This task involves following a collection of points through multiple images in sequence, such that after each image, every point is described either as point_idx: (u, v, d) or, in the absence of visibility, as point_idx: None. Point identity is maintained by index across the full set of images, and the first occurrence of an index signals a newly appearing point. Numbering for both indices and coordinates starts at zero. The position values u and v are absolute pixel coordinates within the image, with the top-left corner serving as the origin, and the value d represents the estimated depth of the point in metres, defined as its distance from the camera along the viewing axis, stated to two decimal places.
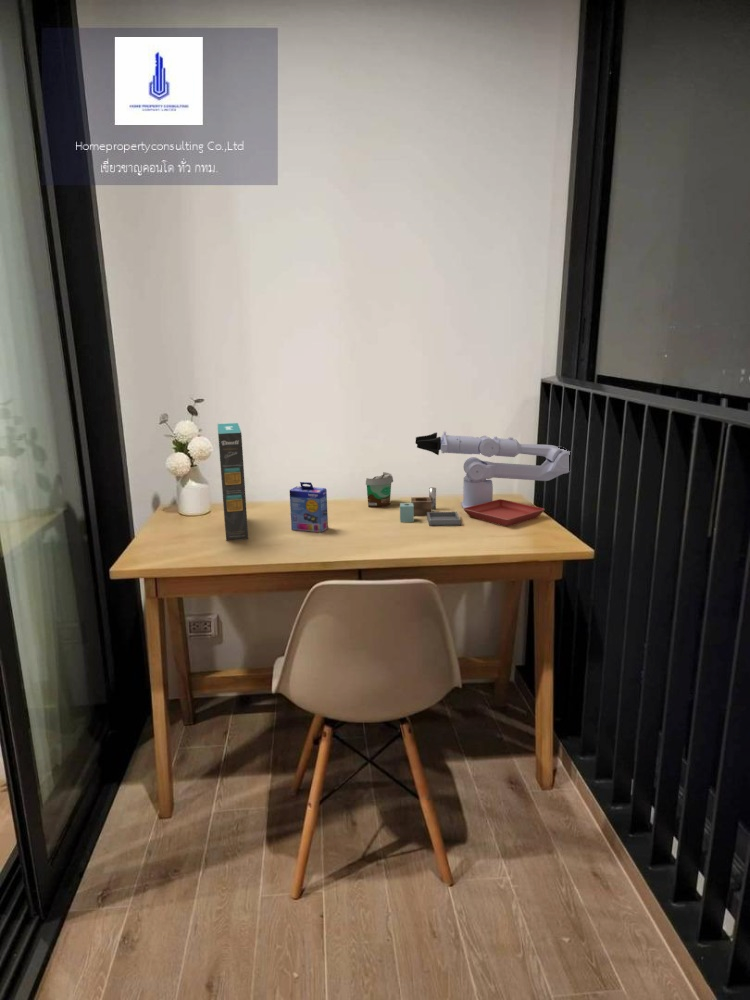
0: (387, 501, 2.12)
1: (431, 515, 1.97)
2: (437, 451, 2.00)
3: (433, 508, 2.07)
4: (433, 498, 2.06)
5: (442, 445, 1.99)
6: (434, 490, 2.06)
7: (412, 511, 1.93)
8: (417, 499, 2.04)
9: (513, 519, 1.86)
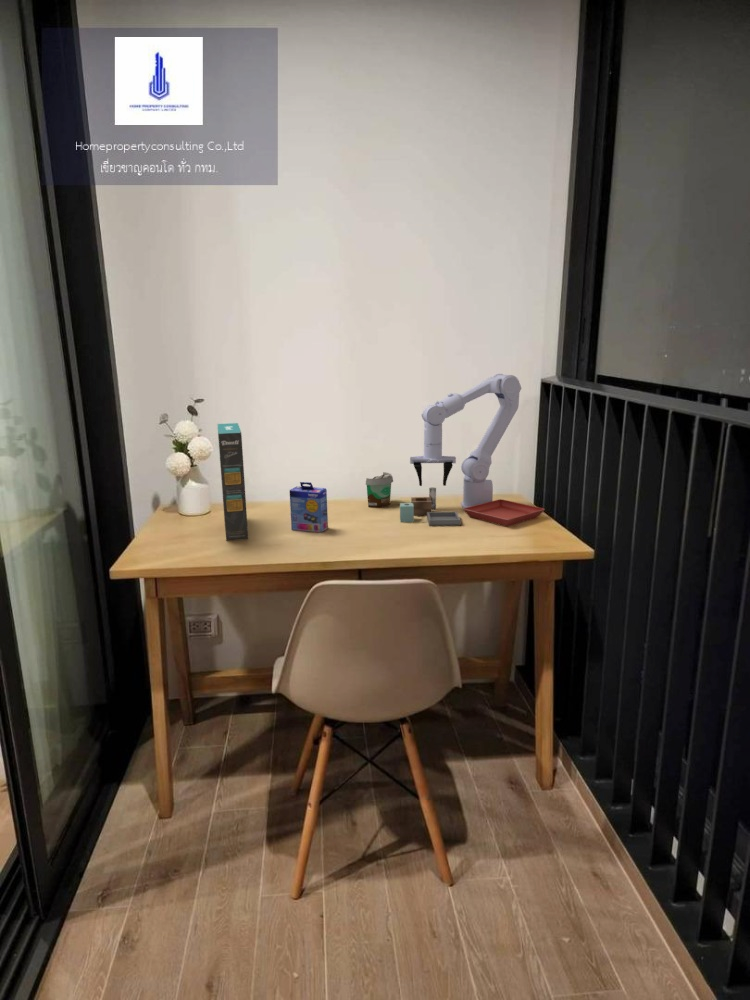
0: (387, 501, 2.12)
1: (431, 515, 1.97)
2: None
3: (433, 508, 2.07)
4: (433, 498, 2.06)
5: (455, 462, 2.04)
6: (434, 490, 2.06)
7: (412, 511, 1.93)
8: (417, 499, 2.04)
9: (513, 519, 1.86)
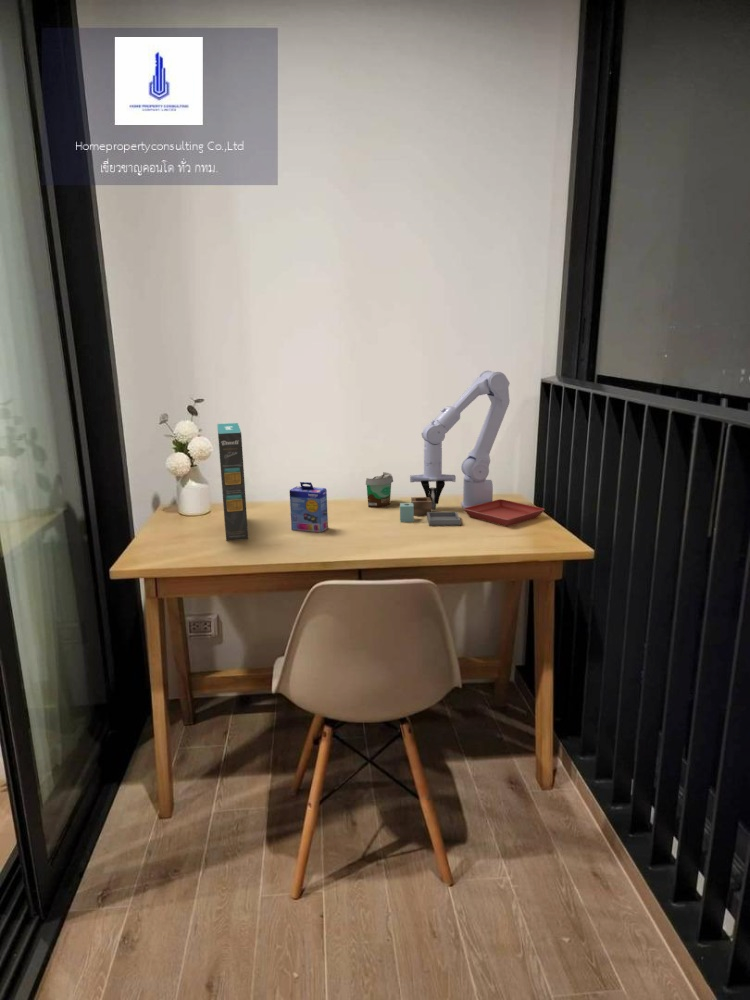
0: (387, 501, 2.12)
1: (431, 515, 1.97)
2: None
3: (433, 508, 2.07)
4: (433, 498, 2.06)
5: None
6: (434, 490, 2.06)
7: (412, 511, 1.93)
8: (417, 499, 2.04)
9: (513, 519, 1.86)
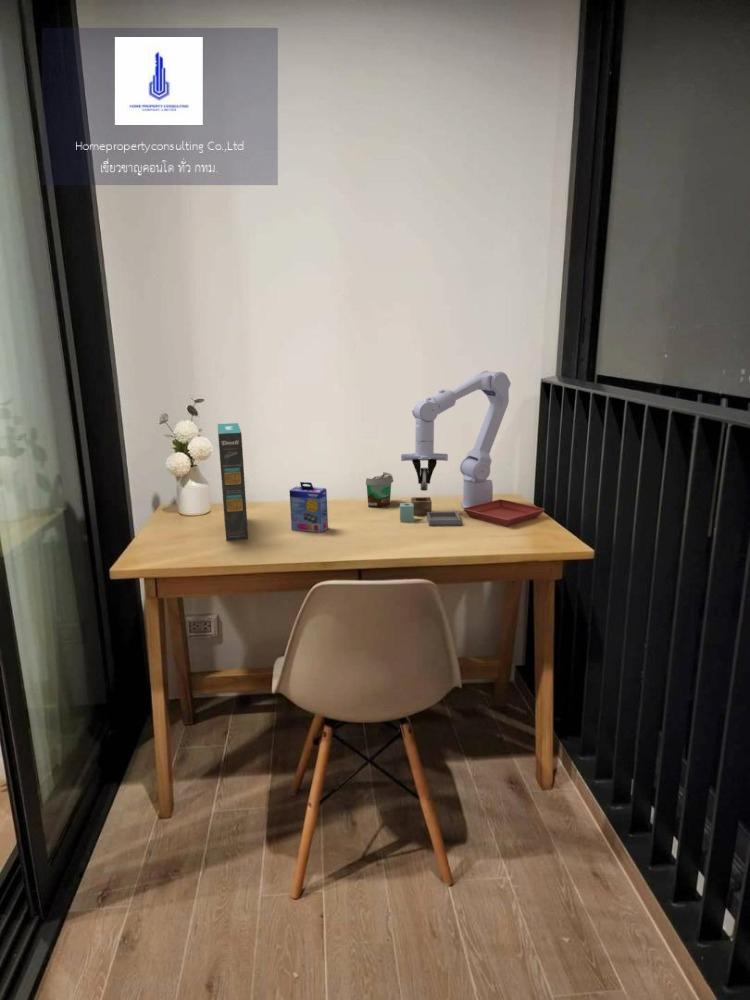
0: (387, 501, 2.12)
1: (431, 515, 1.97)
2: None
3: (424, 489, 2.02)
4: (424, 478, 2.01)
5: (447, 459, 2.00)
6: (425, 470, 2.00)
7: (412, 511, 1.93)
8: (417, 499, 2.04)
9: (513, 519, 1.86)
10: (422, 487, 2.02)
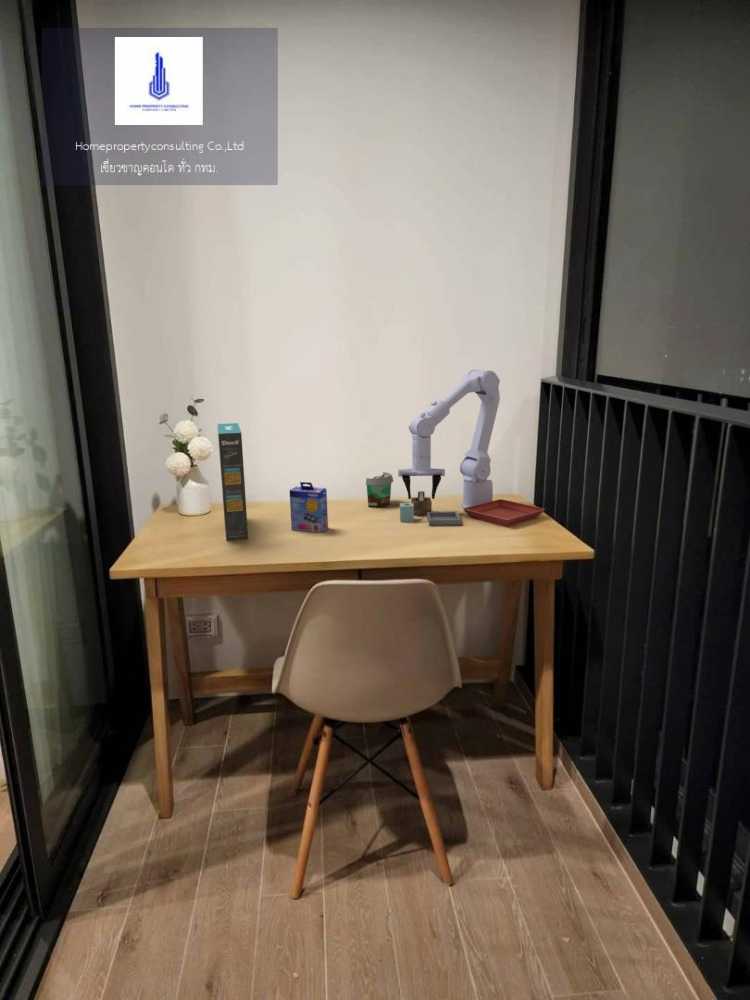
0: (387, 501, 2.12)
1: (431, 515, 1.97)
2: None
3: None
4: None
5: (444, 474, 1.99)
6: (422, 494, 2.01)
7: (412, 511, 1.93)
8: (417, 499, 2.04)
9: (513, 519, 1.86)
10: None
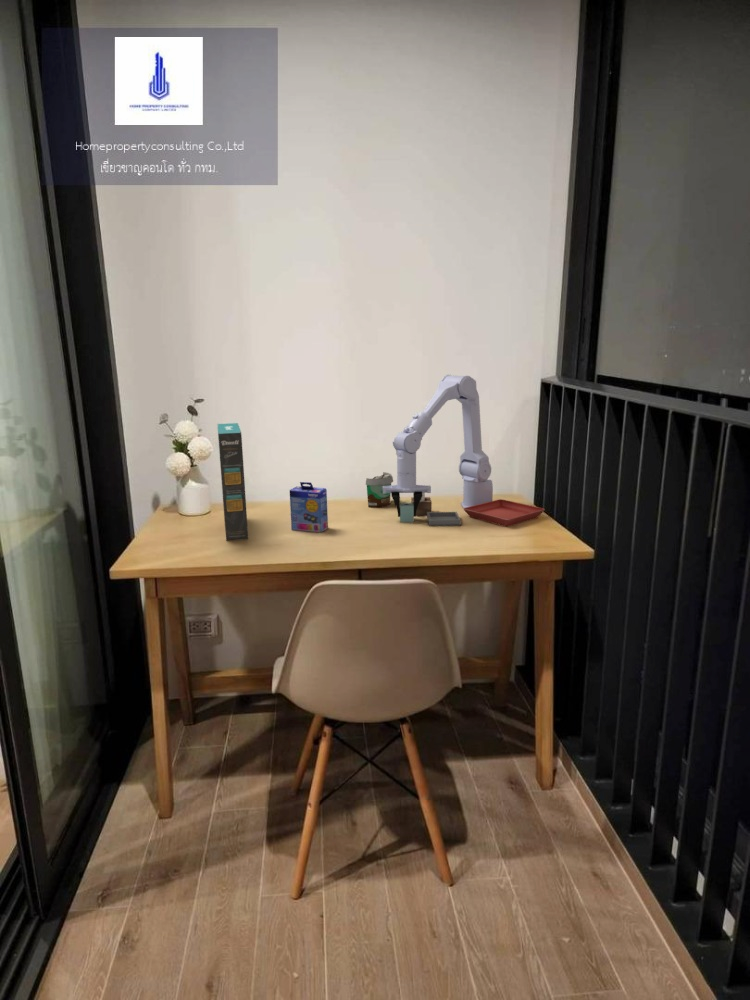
0: (387, 501, 2.12)
1: (431, 515, 1.97)
2: None
3: None
4: None
5: (430, 491, 1.93)
6: (422, 494, 2.01)
7: (412, 511, 1.93)
8: None
9: (513, 519, 1.86)
10: None
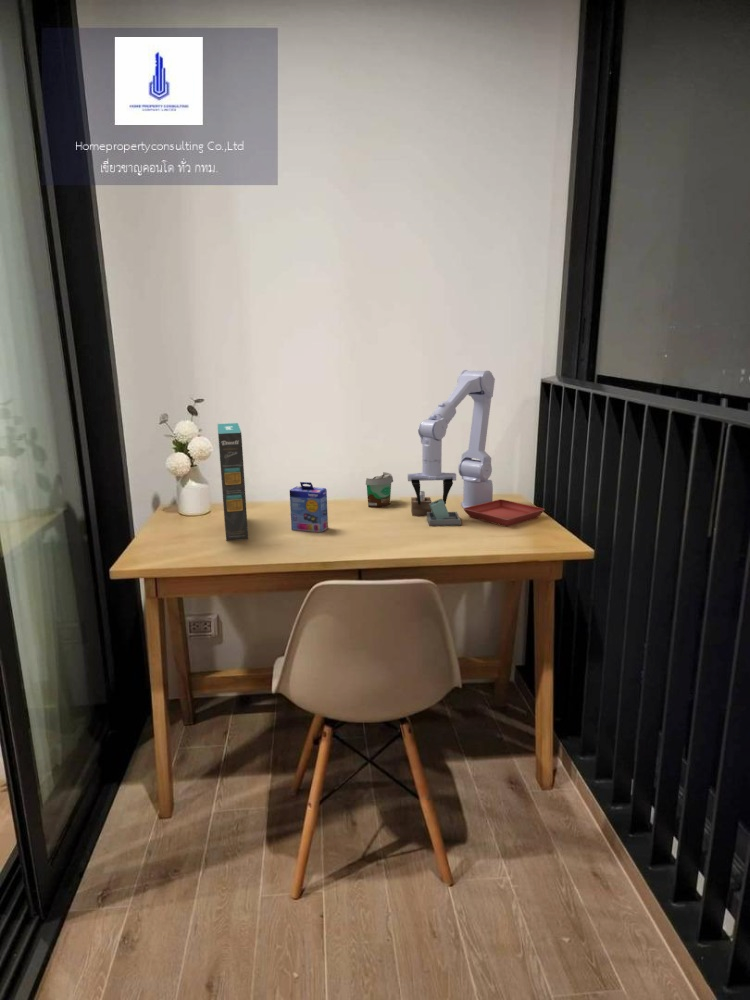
0: (387, 501, 2.12)
1: (431, 515, 1.97)
2: None
3: None
4: None
5: (455, 479, 1.92)
6: (422, 494, 2.01)
7: (444, 506, 1.91)
8: None
9: (513, 519, 1.86)
10: None
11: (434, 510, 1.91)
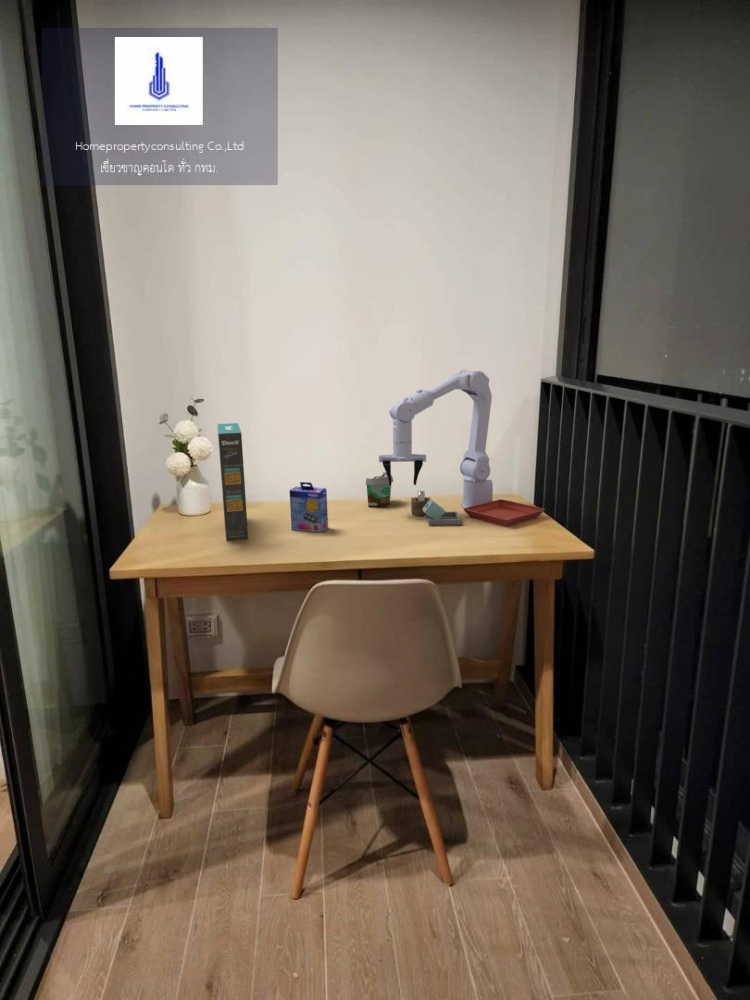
0: (387, 501, 2.12)
1: None
2: None
3: None
4: None
5: None
6: (422, 494, 2.01)
7: (435, 506, 1.90)
8: (417, 499, 2.04)
9: (513, 519, 1.86)
10: None
11: (429, 514, 1.91)
